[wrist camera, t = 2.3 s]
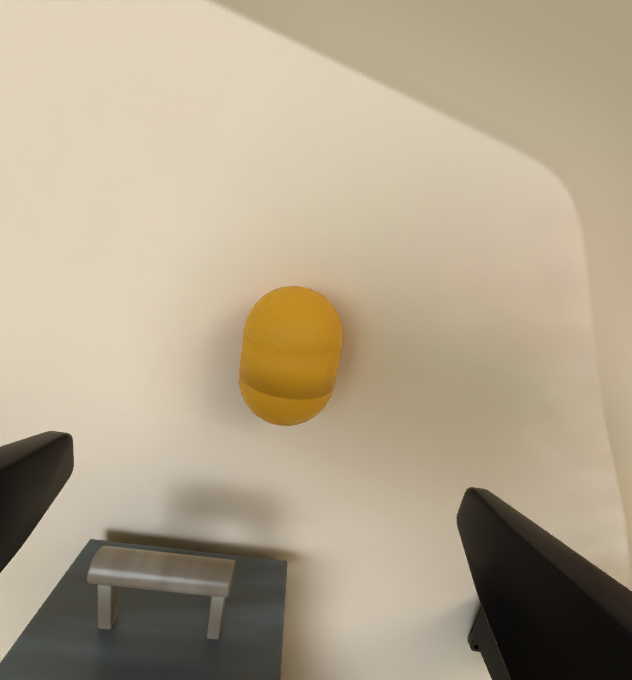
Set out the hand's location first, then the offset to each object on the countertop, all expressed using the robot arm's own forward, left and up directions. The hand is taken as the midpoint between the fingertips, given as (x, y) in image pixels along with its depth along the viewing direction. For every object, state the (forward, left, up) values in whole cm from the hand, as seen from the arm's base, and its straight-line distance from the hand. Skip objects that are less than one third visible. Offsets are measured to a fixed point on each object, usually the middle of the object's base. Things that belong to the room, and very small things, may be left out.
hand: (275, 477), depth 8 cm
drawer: (+4, +18, -9) cm, 21 cm away
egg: (0, 0, -10) cm, 10 cm away
